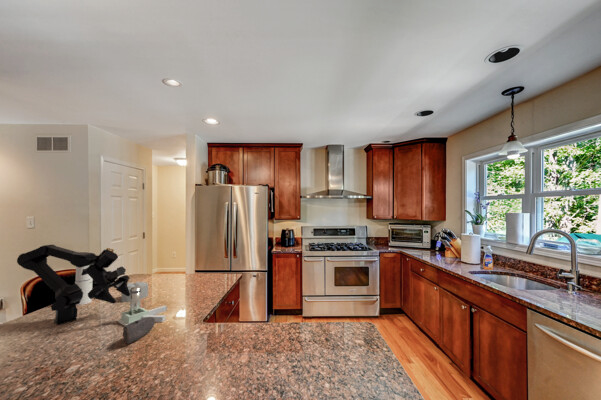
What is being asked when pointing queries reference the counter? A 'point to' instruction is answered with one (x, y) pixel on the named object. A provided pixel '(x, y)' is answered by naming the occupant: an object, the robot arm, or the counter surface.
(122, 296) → the lumpy-topped squat cylinder
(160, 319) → the shaft rig
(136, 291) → the shiny grey metal cylinder
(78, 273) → the cylindrical container
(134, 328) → the perforated stone tool
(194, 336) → the counter surface
